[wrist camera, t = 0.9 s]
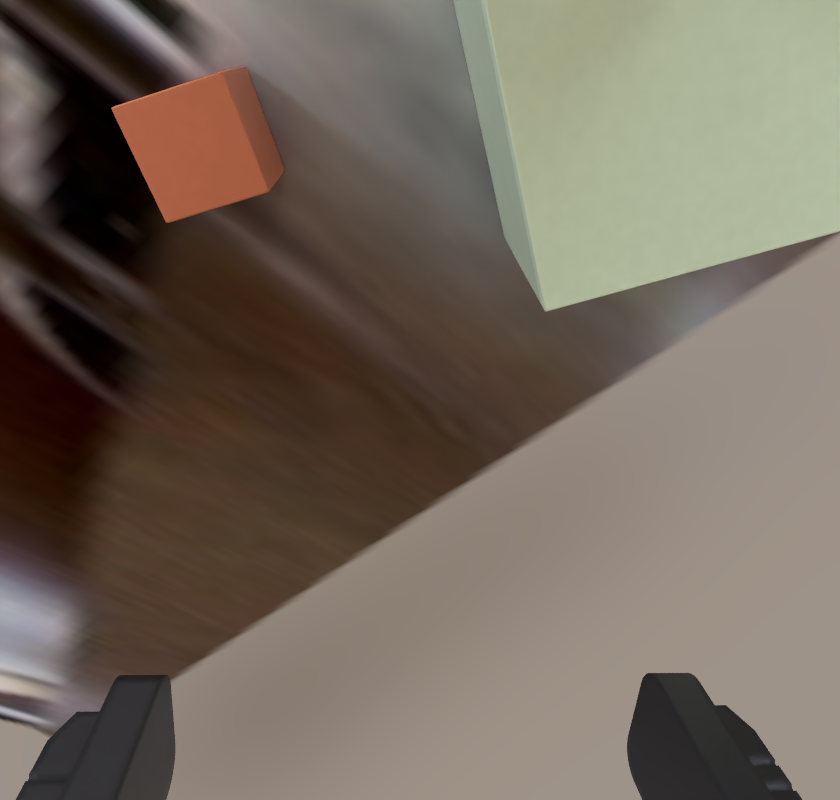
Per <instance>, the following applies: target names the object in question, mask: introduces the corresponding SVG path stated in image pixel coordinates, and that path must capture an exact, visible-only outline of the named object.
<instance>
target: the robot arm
mask: <svg viewBox="0 0 840 800" xmlns="http://www.w3.org/2000/svg"><path fill="white" fill-rule="evenodd" d="M627 753H628V761H629V766H630V770H631V774H632V777H633V779H634V782H635V784H636V786H637V789H638V791H639V793H640V795H641V797H642V800H802V799H801V797H800V796H799V794H798V793H797V792H796V791H793V789H792V786H791V783H790V781H789V780H788V778H787V777H786V775H785V774H784V773H783V771H782V770H781V768H780V767H779V766H776V765H775V759H774V758H773V757H772V755H771V754H770V752H769V751H768V749H767V748H766V746H765V745H764V744H763V742H762V741H761V739H760V738H759V736H758V735H757V733H756V732H755V730H753V729H752V728H751V727H750V726H749V725H747V723H745V722H744V721H743V720H742V719H741V718H740V717H739V716H737V715H736V714H735V713H734V712H733V711H731V710H730V709H729V708H728V707H727V706H726V705H719V706H715V705H714V704H713V702H712V701H711V699H710V697H709V696H708V694H707V693H706V691H705V690H704V688H703V687H702V685H701V684H700V682H699V681H698V679H697V678H696V677H695V676H694V675H692V674H690V673H648V674H646V675H645V676H644V678H643V680H642V683H641V687H640V691H639V695H638V699H637V703H636V707H635V711H634V715H633V719H632V723H631V727H630V731H629V735H628V742H627ZM174 760H175V735H174V722H173V709H172V697H171V684H170V679H169V676H168V675H120V676H118V677H117V678H116V680H115V681H114V683H113V685H112V687H111V689H110V691H109V693H108V695H107V697H106V699H105V702H104V704H103V706H102V708H101V710H100V712H76V713H75V714H74V715H73V716H72V717H71V718H70V719H69V720H68V721H67V722H66V723H65V724H64V725H63V726H62V727H61V728H60V729H59V730H58V731H57V732H56V733H55V734H54V735H53V736H52V737H51V738H50V739H49V740H48V741H47V743H46V744H45V746H44V748H43V750H42V752H41V754H40V756H39V757H38V760H37V761H36V763H35V765H34V767H33V769H32V770H31V772H30V774H29V780H28V781H26V782H25V783H24V785H23V787H22V789H21V791H20V793H19V795H18V797H17V798H16V800H166V798H167V795H168V791H169V788H170V784H171V780H172V775H173V769H174Z"/></svg>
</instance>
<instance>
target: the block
mask: <svg viewBox="0 0 840 800" xmlns="http://www.w3.org/2000/svg"><path fill="white" fill-rule="evenodd" d="M112 111H113V113H114V115H115V117H116V120H117V122H118V124H119V126H120V128H121V130H122V132H123V134H124V136H125V138H126V140H127V142H128V144H129V146H130V149H131V151H132V153H133V155H134V157H135V159H136V161H137V163H138V165H139V167H140V169H141V171H142V173H143V176H144V178H145V180H146V182H147V184H148V186H149V188H150V190H151V192H152V194H153V196H154V198H155V200H156V203H157V205H158V207H159V209H160V211H161V213H162V215H163V217H164V219H165V221H166V223H170V222H173V221H176V220H180V219H183V218H186V217H190V216H193V215H196V214H199V213H203V212H206V211H209V210H212V209H216V208H219V207H222V206H225V205H229V204H232V203H235V202H238V201H242V200H245V199H248V198H252V197H255V196H258V195H261V194H265V193H268V192H269V191H270V190H271V188H272V187H273V186H274V184H275V183H276V182H277V180H278V179H279V178H280V177H281V175H282V174H283V173H284V171H285V169H284V167H283V164H282V161H281V159H280V156H279V153H278V150H277V148H276V145H275V142H274V140H273V137H272V134H271V132H270V129H269V126H268V124H267V121H266V118H265V116H264V113H263V110H262V108H261V105H260V102H259V99H258V97H257V94H256V91H255V89H254V86H253V83H252V81H251V78H250V75H249V73H248V70H247V67H246V66H241V67H237V68H233V69H229V70H224V71H220V72H217V73H214V74H211V75H208V76H205V77H202V78H199V79H196V80H193V81H190V82H187V83H184V84H181V85H178V86H175V87H172V88H169V89H166V90H163V91H160V92H157V93H154V94H151V95H147V96H144V97H141V98H138V99H135V100H132V101H129V102H126V103H123V104H120V105H117V106H114V107H112Z"/></svg>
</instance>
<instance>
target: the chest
mask: <svg viewBox="0 0 840 800" xmlns="http://www.w3.org/2000/svg"><path fill="white" fill-rule="evenodd" d="M453 2H454V7H455V11H456V16H457V21H458V25H459V30H460V35H461V39H462V44H463V48H464V53H465V58H466V62H467V67H468V71H469V76H470V81H471V85H472V90H473V94H474V99H475V104H476V108H477V113H478V118H479V122H480V127H481V131H482V136H483V141H484V145H485V150H486V154H487V159H488V164H489V168H490V173H491V178H492V182H493V187H494V191H495V196H496V201H497V205H498V210H499V214H500V219H501V224H502V228H503V233H504V237H505V240H506V241H507V243H508V245H509V247H510V249H511V251H512V252H513V254H514V256H515V258H516V260H517V261H518V263H519V265H520V267H521V269H522V270H523V272H524V274H525V276H526V278H527V279H528V281H529V283H530V285H531V287H532V288H533V290H534V292H535V294H536V296H537V298H538V299H539V301H540V296H539V291H538V286H537V281H536V276H535V271H534V266H533V261H532V256H531V251H530V246H529V241H528V236H527V231H526V226H525V221H524V216H523V211H522V206H521V200H520V195H519V190H518V185H517V180H516V175H515V170H514V165H513V160H512V155H511V150H510V145H509V140H508V135H507V130H506V125H505V120H504V115H503V110H502V105H501V100H500V94H499V89H498V84H497V79H496V74H495V69H494V64H493V59H492V54H491V49H490V44H489V39H488V34H487V29H486V24H485V19H484V14H483V9H482V4H481V0H453ZM540 303H541V301H540Z"/></svg>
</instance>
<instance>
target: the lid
mask: <svg viewBox="0 0 840 800" xmlns="http://www.w3.org/2000/svg"><path fill="white" fill-rule="evenodd" d="M481 4H482V9H483V14H484V19H485V24H486V29H487V34H488V39H489V44H490V49H491V54H492V59H493V64H494V69H495V74H496V79H497V84H498V89H499V94H500V100H501V105H502V110H503V115H504V120H505V125H506V130H507V135H508V140H509V145H510V150H511V155H512V160H513V165H514V170H515V175H516V180H517V185H518V190H519V195H520V200H521V206H522V211H523V216H524V221H525V226H526V231H527V236H528V241H529V246H530V251H531V256H532V261H533V266H534V271H535V276H536V281H537V286H538V291H539V296H540V301H541V305H542V307H543V308H544V310H545V311H551V310H554V309H558V308H562V307H565V306H569V305H572V304H576V303H580V302H583V301H587V300H591V299H594V298H598V297H602V296H605V295H609V294H613V293H616V292H620V291H624V290H627V289H631V288H635V287H638V286H642V285H646V284H649V283H653V282H657V281H660V280H664V279H668V278H671V277H675V276H679V275H682V274H686V273H689V272H693V271H697V270H700V269H704V268H708V267H711V266H715V265H719V264H722V263H726V262H730V261H733V260H737V259H741V258H744V257H748V256H752V255H755V254H759V253H763V252H766V251H770V250H774V249H777V248H781V247H785V246H788V245H792V244H796V243H799V242H803V241H807V240H810V239H814V238H817V237H821V236H825V235H828V234H832V233H836V232H839V231H840V0H481Z"/></svg>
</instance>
